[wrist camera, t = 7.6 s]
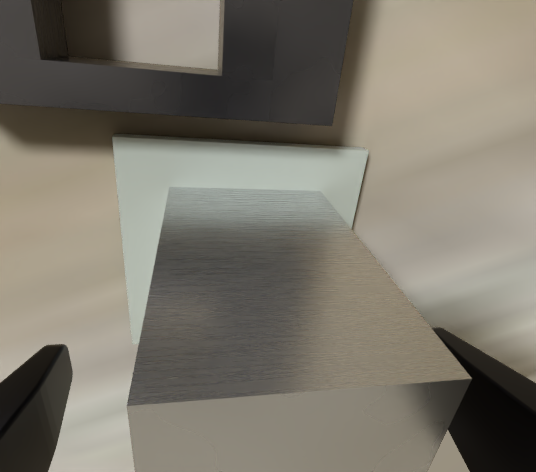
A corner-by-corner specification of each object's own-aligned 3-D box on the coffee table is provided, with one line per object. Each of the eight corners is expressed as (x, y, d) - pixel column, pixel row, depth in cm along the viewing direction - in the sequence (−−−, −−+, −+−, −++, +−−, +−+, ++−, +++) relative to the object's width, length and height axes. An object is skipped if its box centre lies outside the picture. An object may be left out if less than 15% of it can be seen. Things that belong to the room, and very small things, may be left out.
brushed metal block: (320, 190, 13) (471, 378, 6) (300, 307, 15) (392, 544, 8) (169, 186, 12) (127, 405, 5) (173, 312, 14) (148, 584, 7)
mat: (364, 147, 13) (368, 150, 12) (325, 328, 16) (328, 335, 16) (114, 133, 11) (111, 136, 11) (133, 337, 15) (132, 344, 14)
